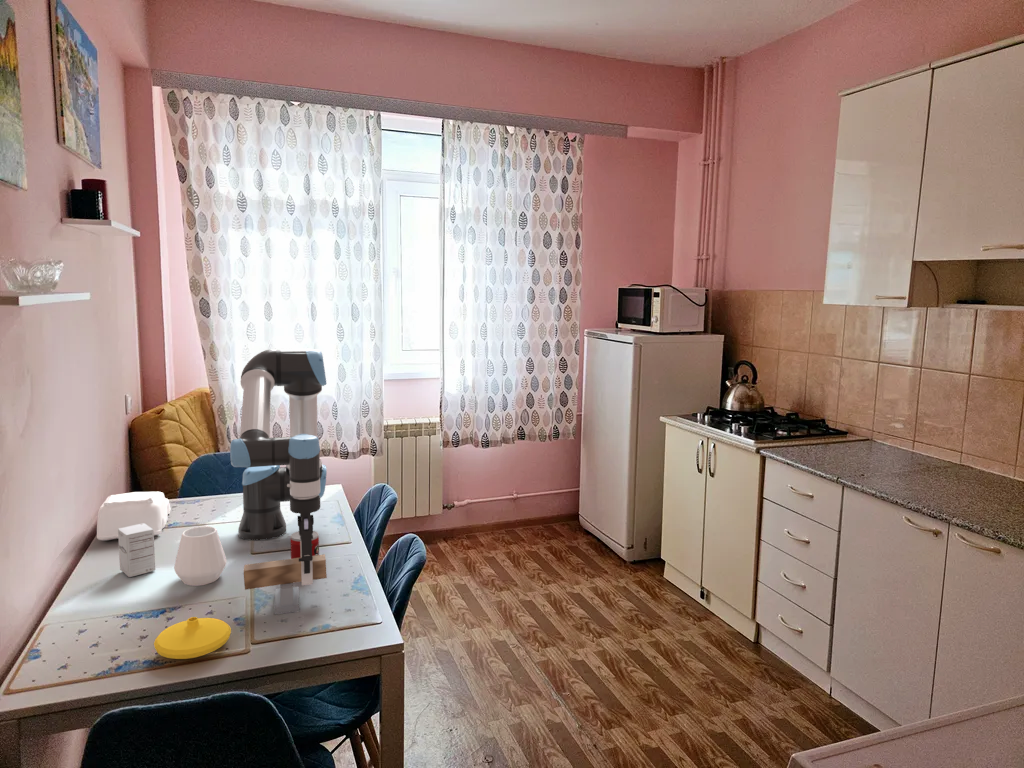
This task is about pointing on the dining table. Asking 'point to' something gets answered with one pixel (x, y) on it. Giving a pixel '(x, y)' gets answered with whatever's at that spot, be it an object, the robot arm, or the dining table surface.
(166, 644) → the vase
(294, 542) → the canned food
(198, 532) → the white planter pot
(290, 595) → the ridge
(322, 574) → the slat
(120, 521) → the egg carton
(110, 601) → the dining table surface
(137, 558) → the supplement box
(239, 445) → the robot arm
